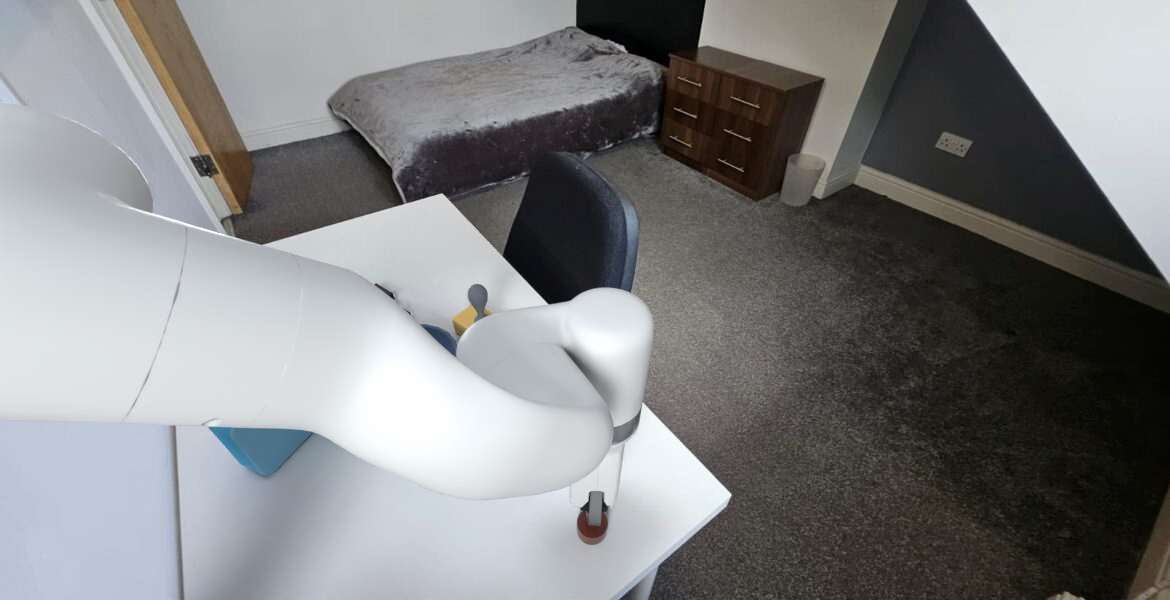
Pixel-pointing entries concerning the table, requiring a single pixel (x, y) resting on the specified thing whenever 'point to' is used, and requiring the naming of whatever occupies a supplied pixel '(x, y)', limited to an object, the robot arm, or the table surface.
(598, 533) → the red capped peg
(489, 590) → the table surface
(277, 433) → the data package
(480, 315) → the rubber stamp
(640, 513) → the table surface
